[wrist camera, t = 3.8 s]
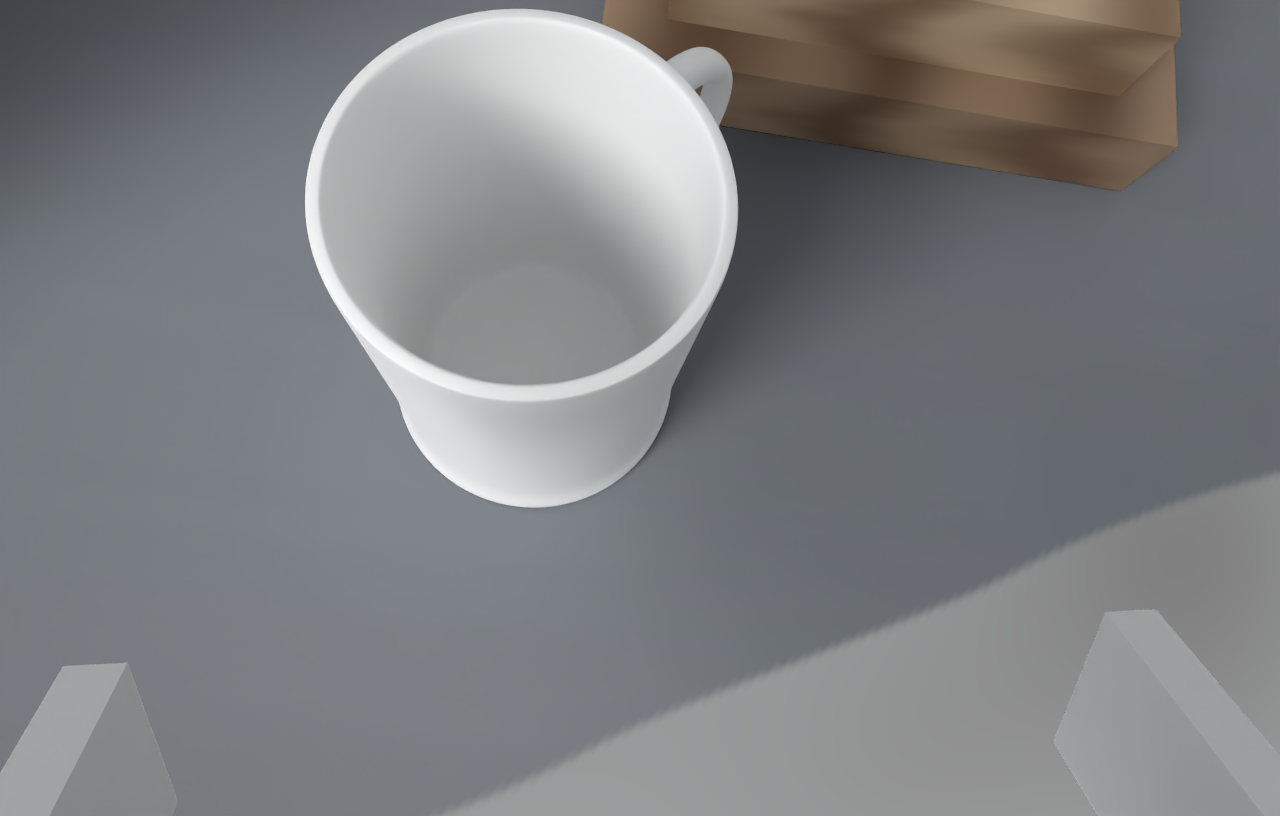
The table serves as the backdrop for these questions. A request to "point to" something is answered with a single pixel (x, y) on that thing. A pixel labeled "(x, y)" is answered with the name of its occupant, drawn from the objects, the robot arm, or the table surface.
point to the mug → (527, 240)
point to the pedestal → (943, 76)
